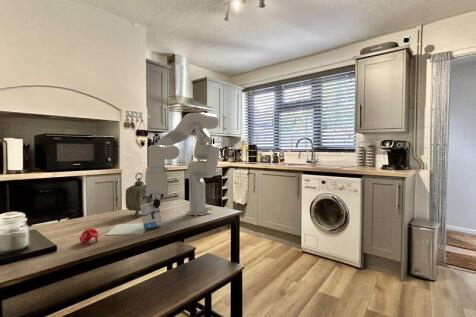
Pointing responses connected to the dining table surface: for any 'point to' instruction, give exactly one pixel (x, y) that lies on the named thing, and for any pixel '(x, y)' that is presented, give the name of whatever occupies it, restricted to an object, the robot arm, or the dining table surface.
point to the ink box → (150, 215)
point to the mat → (127, 229)
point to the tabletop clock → (137, 196)
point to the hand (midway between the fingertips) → (156, 207)
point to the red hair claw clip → (88, 235)
